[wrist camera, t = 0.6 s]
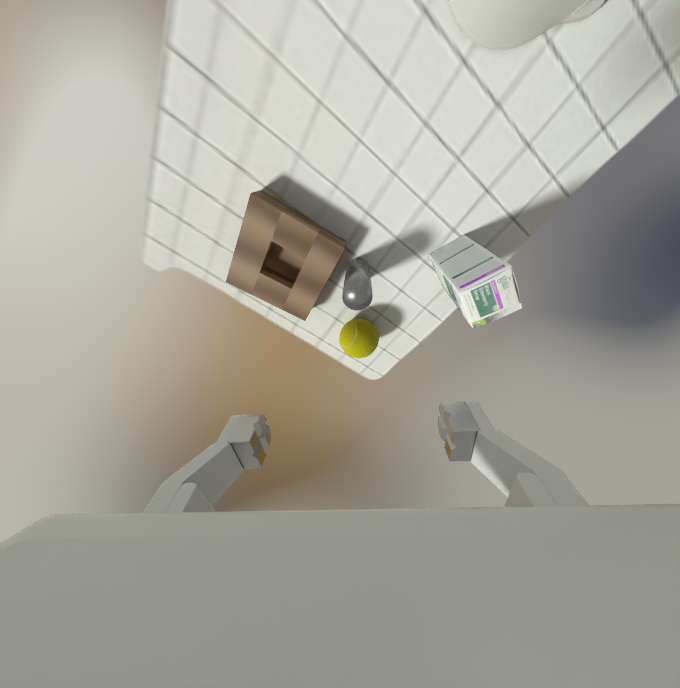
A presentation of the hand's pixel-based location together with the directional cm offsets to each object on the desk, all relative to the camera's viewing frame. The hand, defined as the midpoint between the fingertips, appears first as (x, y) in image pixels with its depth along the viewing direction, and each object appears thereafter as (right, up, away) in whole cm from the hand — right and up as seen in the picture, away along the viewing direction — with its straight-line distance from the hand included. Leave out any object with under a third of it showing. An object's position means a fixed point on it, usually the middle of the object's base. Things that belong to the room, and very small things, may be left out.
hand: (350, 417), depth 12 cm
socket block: (-9, +18, +29) cm, 35 cm away
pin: (+3, +16, +30) cm, 34 cm away
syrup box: (+17, +17, +28) cm, 37 cm away
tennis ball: (+3, +7, +37) cm, 37 cm away
